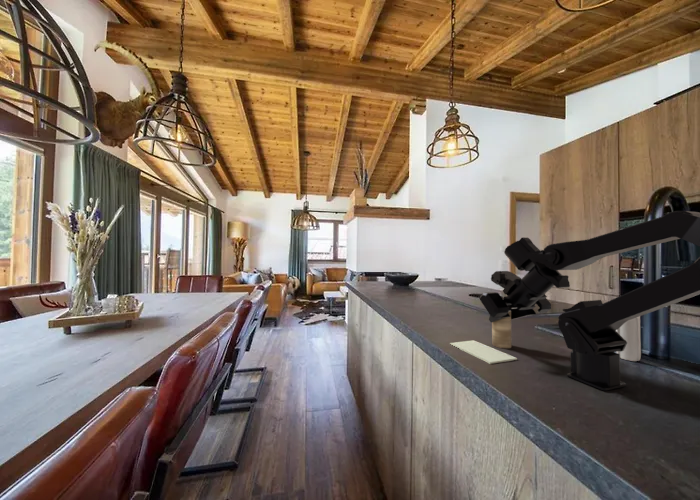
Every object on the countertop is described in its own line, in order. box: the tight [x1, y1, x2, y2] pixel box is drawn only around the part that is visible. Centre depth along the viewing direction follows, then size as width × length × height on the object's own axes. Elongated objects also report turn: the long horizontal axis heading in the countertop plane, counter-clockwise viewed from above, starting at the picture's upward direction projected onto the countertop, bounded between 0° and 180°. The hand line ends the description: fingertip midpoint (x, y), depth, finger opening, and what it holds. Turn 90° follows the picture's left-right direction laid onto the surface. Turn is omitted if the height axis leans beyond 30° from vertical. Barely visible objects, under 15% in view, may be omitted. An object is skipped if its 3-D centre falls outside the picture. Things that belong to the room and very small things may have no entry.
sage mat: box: [449, 339, 518, 365], centre depth 69 cm, size 14×8×1 cm, turn 17°
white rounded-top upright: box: [616, 316, 642, 362], centre depth 67 cm, size 10×4×12 cm, turn 134°
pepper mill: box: [491, 311, 512, 349], centre depth 74 cm, size 5×5×12 cm
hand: (497, 320), depth 75 cm, fingers closed on pepper mill, 5 cm apart
